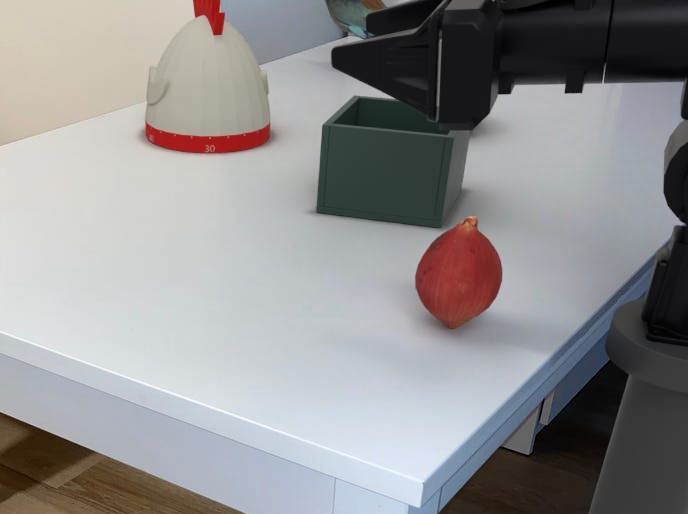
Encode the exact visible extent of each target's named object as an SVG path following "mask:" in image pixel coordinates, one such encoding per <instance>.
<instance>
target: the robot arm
mask: <svg viewBox="0 0 688 514" xmlns="http://www.w3.org/2000/svg"><path fill="white" fill-rule="evenodd" d="M366 31H367V32H368V33H371V34H373V35H376V36H378V37H374V38H369V39H365V40H364V39H360V40H355V41H351V42H348V43H343V44H339V45H336V46H334V47H332V49H331V51H330V64H331V67H332V68H333V69H334V70H337V71H338V72H341V73H343V74H345V75H347V76H349V77H351V78H353V79H355V80H357V81H359V82H361V83H362V84H365V85H368V86H369V87H371V88H373V89H375V90H378V91H379V92H381V93H383V94H386V96H389V97H391V98H392V99H397V100H398V101H400V102H402V103H404V104H406V105H407V106H409V107H411V108H413V109H415V110H416V111H418V112H420V113H422V114H424V115H425V116H427V119H428V121H431V122H437V121H438V124H439V130H440V131H473V130H474V129H475V128H477V126H479V125H480V124H481V123H482V122H483V121H484V120H485V119H486V118H487V117H488V116H489V115H490V113H491V112H492V109H493V108H494V105H495V103H496V102H497V99H498V97H499V95H500V96H501V95H512V93H513V90H514V88H515V86H540V85H541V86H542V85H546V86H548V85H564V92H563V93H564V94H565V95H566V94H567V95H568V94H583V91H584V88H585V85H597V84H598V85H600V84H650V83H651V84H652V83H653V84H655V83H656V84H657V83H660V84H661V83H683V84H682V90H681V94H680V101H679V104H680V105H679V106H680V107H679V108H680V118H681V119H682V121H680V122H679V123H678V125H677V126H676V127H675V129H674V130H673V131H672V133H671V134H670V135H669V137H668V140H667V144H666V146H665V148H664V151H663V186H662V187H663V188H662V190H663V192H662V193H663V195H664V198H665V199H664V200H665V202H666V206H667V207H668V209H670V211H671V212H672V213H673V214H674V216H675V217H676V218H677V219H678V220H679V221H680V222H681V223H682V224H685V225H681V224H680V225H679V224H675V225H674V226H673V229H672V233H671V236H670V239H669V243H668V246H667V248H665V247H661V248H660V249H658V250H657V251H656V253H655V257H654V260H653V264H652V268H651V271H650V275H649V278H648V282H647V285H646V289H645V293H644V295H643V298H644V299H643V303H642V310H641V319H642V320H643V322H646V335H645V338H646V339H647V340H649V341H652V342H658V343H665V344H672V345H678V346H685V347H688V0H407V1H404V2H400V3H397V4H394V5H391V6H387V8H384V9H380V10H377V11H374V12H370V13H369V14H368V15H367V16H366Z"/></svg>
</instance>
